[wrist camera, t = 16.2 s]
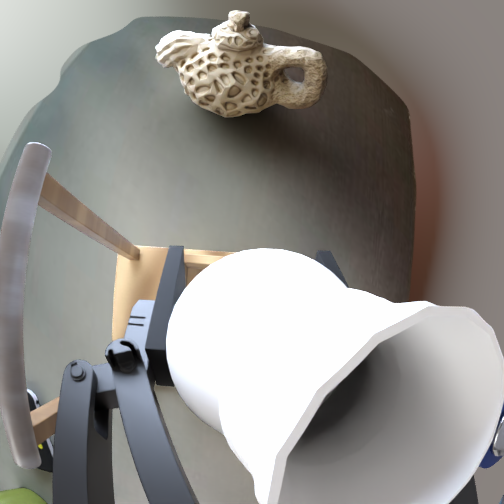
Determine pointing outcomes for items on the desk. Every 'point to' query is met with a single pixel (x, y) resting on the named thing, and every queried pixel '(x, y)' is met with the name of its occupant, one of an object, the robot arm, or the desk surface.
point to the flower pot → (20, 497)
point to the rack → (13, 286)
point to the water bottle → (335, 382)
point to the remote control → (45, 447)
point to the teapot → (241, 69)
